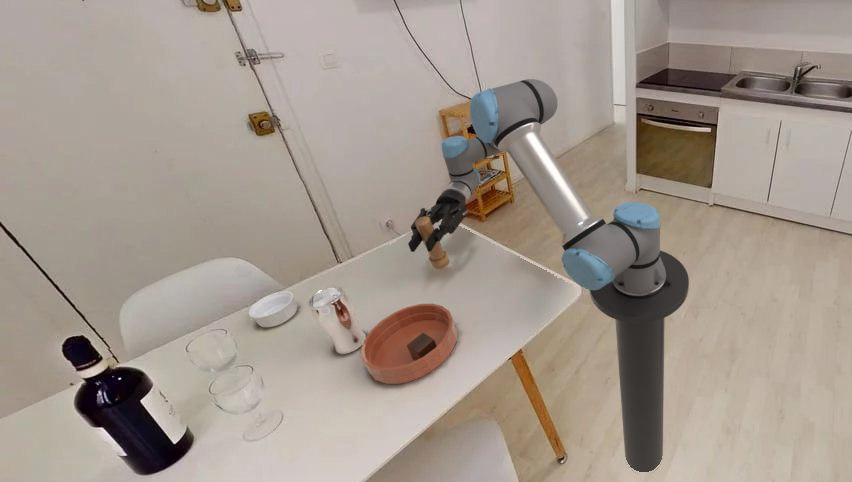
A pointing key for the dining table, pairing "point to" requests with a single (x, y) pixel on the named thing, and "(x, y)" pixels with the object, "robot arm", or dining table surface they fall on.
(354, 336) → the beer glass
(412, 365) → the bowl
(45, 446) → the dining table surface
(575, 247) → the robot arm
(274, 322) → the ramekin
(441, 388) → the dining table surface
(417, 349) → the walnut block
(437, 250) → the muddler
